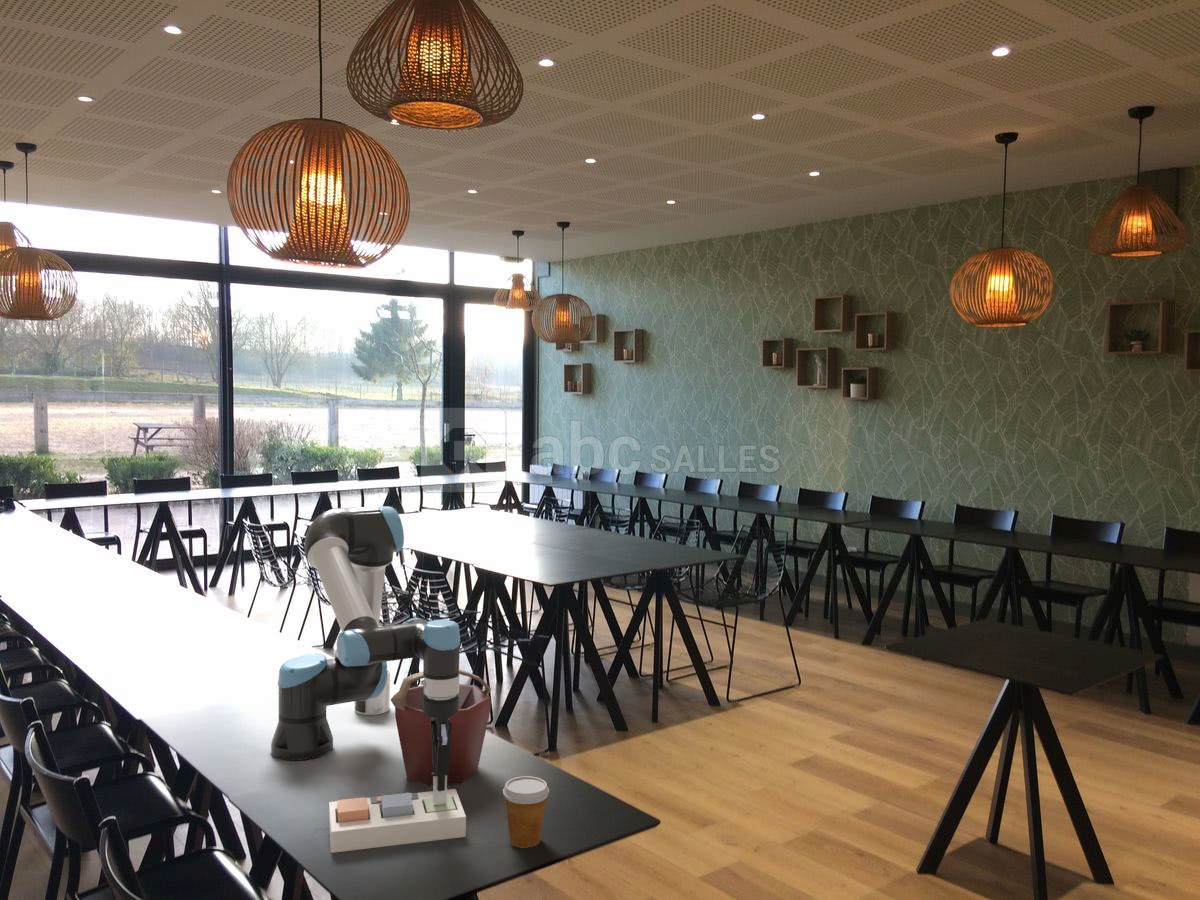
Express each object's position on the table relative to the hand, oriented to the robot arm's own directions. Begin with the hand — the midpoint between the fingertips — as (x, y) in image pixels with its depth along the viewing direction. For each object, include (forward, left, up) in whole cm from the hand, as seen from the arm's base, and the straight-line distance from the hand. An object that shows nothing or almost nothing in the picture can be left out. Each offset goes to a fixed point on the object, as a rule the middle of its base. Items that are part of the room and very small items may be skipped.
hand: (439, 803), depth 201 cm
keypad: (0, -9, -5) cm, 10 cm away
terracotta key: (0, -18, -1) cm, 18 cm away
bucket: (-28, +4, -5) cm, 29 cm away
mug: (-75, -9, -5) cm, 76 cm away
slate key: (0, -9, -1) cm, 9 cm away
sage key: (0, 0, -3) cm, 3 cm away
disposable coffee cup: (+12, +16, -5) cm, 20 cm away
